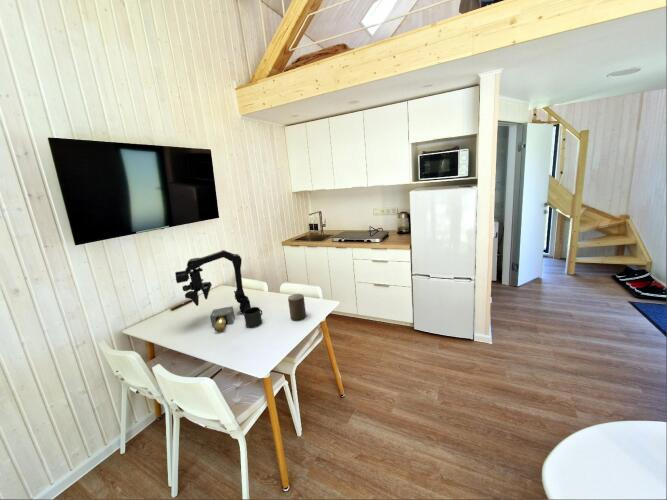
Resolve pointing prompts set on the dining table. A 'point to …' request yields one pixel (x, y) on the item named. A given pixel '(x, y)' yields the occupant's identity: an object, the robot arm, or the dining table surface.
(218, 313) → the block
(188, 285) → the robot arm
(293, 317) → the pillar candle
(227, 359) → the dining table surface
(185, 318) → the dining table surface
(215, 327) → the gold cylindrical piece
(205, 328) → the dining table surface
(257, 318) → the mug
